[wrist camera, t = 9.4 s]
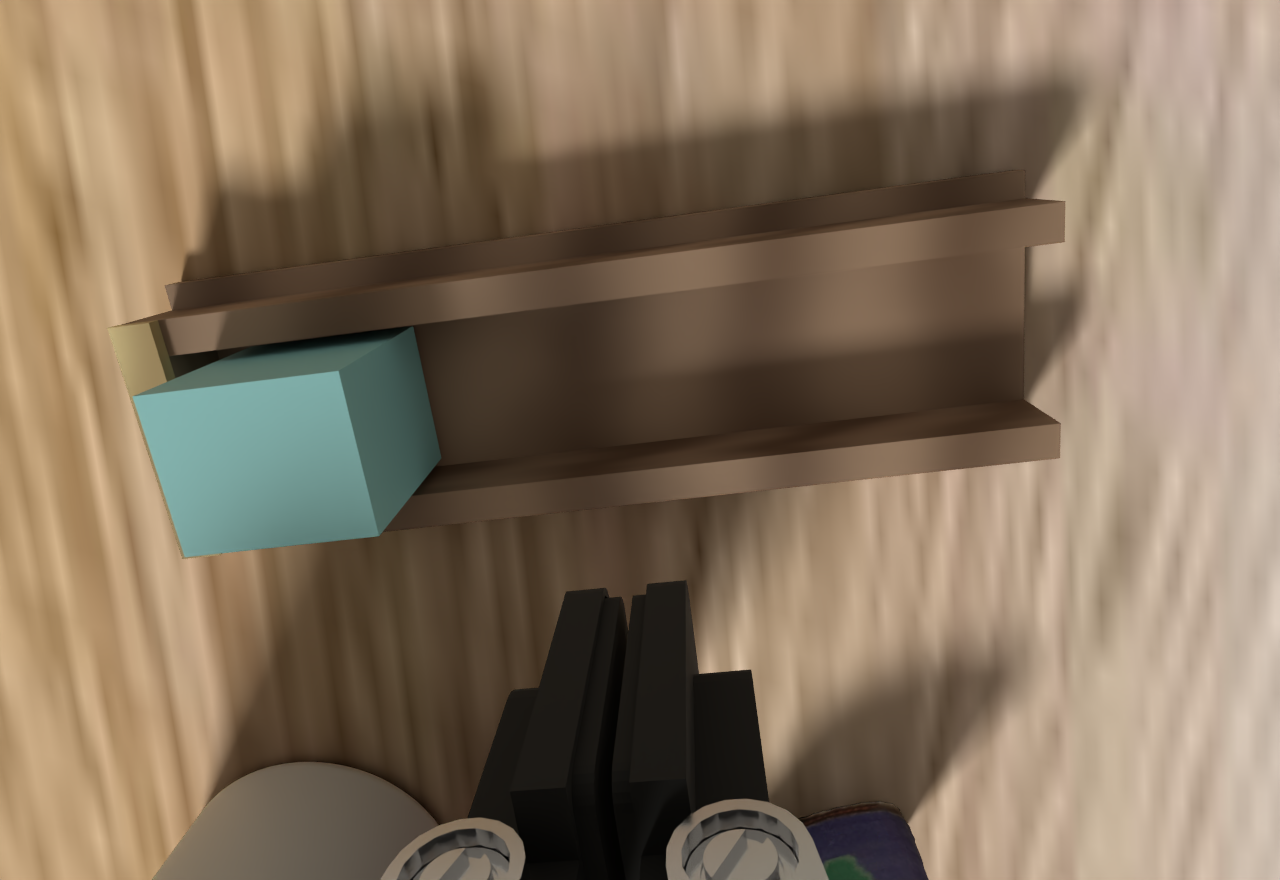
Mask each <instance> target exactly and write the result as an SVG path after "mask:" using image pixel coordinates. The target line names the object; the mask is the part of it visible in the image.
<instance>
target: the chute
mask: <svg viewBox="0 0 1280 880" xmlns="http://www.w3.org/2000/svg"><path fill="white" fill-rule="evenodd" d="M1061 242H1065V201H1054V200H1041V199H1028V198H1025V170H1011V171H1004V172H996V173H989V174H981V175H974V176H966V177H959V178H951V179H944V180H937V181H929V182H922V183H914V184H907V185H899V186H892V187H884V188H877V189H869V190H862V191H855V192H847V193H840V194H832V195H825V196H817V197H810V198H802V199H795V200H787V201H780V202H773V203H765V204H758V205H750V206H743V207H735V208H728V209H720V210H713V211H705V212H698V213H691V214H683V215H676V216H668V217H661V218H653V219H646V220H638V221H631V222H623V223H616V224H609V225H601V226H594V227H586V228H579V229H571V230H564V231H556V232H549V233H541V234H534V235H527V236H519V237H512V238H504V239H497V240H489V241H482V242H474V243H467V244H459V245H452V246H445V247H437V248H430V249H422V250H415V251H407V252H400V253H392V254H385V255H377V256H370V257H363V258H355V259H348V260H340V261H333V262H325V263H318V264H310V265H303V266H295V267H288V268H281V269H273V270H266V271H258V272H251V273H243V274H236V275H228V276H221V277H213V278H206V279H199V280H191V281H184V282H178V283H173V284H169V285H165V288H166V292H167V295H168V298H169V302H170V305H171V308H172V311H169V312H165V313H161V314H158V315H154V316H151V317H147V318H144V319H140V320H137V321H133V322H129V323H126V324H122V325H117V326H114V327H110V328H107V329H108V332H109V335H110V338H111V341H112V344H113V347H114V350H115V354H116V357H117V360H118V363H119V366H120V369H121V372H122V375H123V378H124V381H125V384H126V387H127V390H128V393H129V396H130V399H131V403H132V406H133V409H134V412H135V415H136V418H137V421H138V424H139V427H140V430H141V433H142V436H143V439H144V442H145V445H146V448H147V452H148V455H149V458H150V461H151V464H152V467H153V470H154V473H155V476H156V479H157V482H158V485H159V488H160V491H161V494H162V497H163V501H164V504H165V507H166V510H167V513H168V516H169V519H170V522H171V525H172V528H173V531H174V534H175V537H176V540H177V543H178V546H179V550H180V553H181V556H182V559H187V558H196V557H205V556H215V555H221V554H222V553H219V554H210V555H201V556H192V557H184V554H183V550H182V547H181V544H180V541H179V538H178V535H177V532H176V529H175V526H174V523H173V520H172V517H171V514H170V511H169V507H168V504H167V501H166V498H165V495H164V492H163V489H162V486H161V483H160V480H159V477H158V474H157V471H156V468H155V464H154V461H153V458H152V455H151V452H150V449H149V446H148V443H147V440H146V437H145V434H144V431H143V428H142V424H141V421H140V418H139V415H138V412H137V409H136V406H135V403H134V400H133V397H132V396H135V395H137V394H139V393H142V392H144V391H147V390H149V389H151V388H154V387H156V386H159V385H161V384H163V383H166V382H168V381H170V380H173V379H175V378H178V377H180V376H182V375H185V374H187V373H190V372H192V371H194V370H197V369H199V368H201V367H204V366H206V365H209V364H211V363H213V362H216V361H218V360H221V359H223V358H225V357H228V356H230V355H232V354H235V353H237V352H240V351H242V350H244V349H247V348H249V347H252V346H259V345H267V344H275V343H283V342H291V341H299V340H307V339H314V338H322V337H330V336H338V335H346V334H354V333H362V332H369V331H377V330H385V329H393V328H401V327H409V326H413V328H414V333H415V337H416V342H417V347H418V351H419V356H420V360H421V365H422V370H423V374H424V379H425V384H426V388H427V393H428V398H429V402H430V407H431V412H432V416H433V421H434V426H435V430H436V435H437V440H438V444H439V449H440V453H441V459H440V461H439V462H438V463H437V464H436V466H435V467H434V468H433V469H432V471H431V472H430V473H429V474H428V476H427V477H426V478H425V479H424V481H423V482H422V483H421V484H420V486H419V487H418V488H417V489H416V491H415V492H414V493H413V494H412V496H411V497H410V498H409V499H408V501H407V502H406V503H405V504H404V506H403V507H402V508H401V509H400V511H399V512H398V513H397V514H396V516H395V517H394V518H393V519H392V521H391V522H390V523H389V524H388V526H387V527H386V528H385V529H384V531H383V532H386V531H395V530H404V529H413V528H422V527H432V526H441V525H450V524H459V523H468V522H477V521H487V520H496V519H505V518H514V517H523V516H533V515H542V514H551V513H560V512H569V511H579V510H588V509H597V508H606V507H615V506H624V505H634V504H643V503H652V502H661V501H670V500H680V499H689V498H698V497H707V496H716V495H725V494H735V493H744V492H753V491H762V490H771V489H781V488H790V487H799V486H808V485H817V484H826V483H836V482H845V481H854V480H863V479H872V478H882V477H891V476H900V475H909V474H918V473H927V472H937V471H946V470H955V469H964V468H973V467H983V466H992V465H1001V464H1010V463H1019V462H1028V461H1038V460H1047V459H1056V458H1060V429H1061V423H1059V422H1058V421H1056V420H1055V419H1053V418H1052V417H1050V416H1048V415H1047V414H1045V413H1044V412H1042V411H1041V410H1039V409H1038V408H1036V407H1035V406H1033V405H1032V404H1030V403H1028V402H1027V401H1025V400H1024V281H1025V247H1030V246H1038V245H1046V244H1053V243H1061Z"/></svg>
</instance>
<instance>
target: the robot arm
mask: <svg viewBox="0 0 1280 880" xmlns="http://www.w3.org/2000/svg"><path fill="white" fill-rule="evenodd" d="M380 880H829V879H828V876H827V874H826V871H825V869H824V866H823V864H822V861H821V859H820V856H819V854H818V851H817V849H816V846H815V844H814V841H813V839H812V837H811V835H810V834H809V832H808V831H807V829H806V827H805V826H804V824H803V823H802V822H801V821H800V820H799V819H797V818H796V817H795V816H794V815H792V814H791V813H790V812H789V811H787V810H785V809H783V808H781V807H778V806H776V805H774V804H771V803H769V798H768V791H767V783H766V776H765V768H764V761H763V754H762V746H761V739H760V731H759V724H758V716H757V709H756V701H755V694H754V687H753V679H752V672H751V670H741V671H729V672H717V673H706V674H699V671H698V663H697V655H696V647H695V640H694V632H693V624H692V616H691V608H690V600H689V593H688V586H687V581H686V580H685V581H674V582H664V583H653V584H647V590H646V595H636V596H633V598H632V606H631V615H630V623H629V631H628V627H627V621H626V614H625V608H624V603H623V599H622V597H614V598H609V595H608V591H607V589H606V588H600V589H590V590H579V591H569V592H566V594H565V597H564V601H563V604H562V608H561V611H560V615H559V618H558V622H557V626H556V629H555V633H554V636H553V640H552V643H551V647H550V650H549V654H548V657H547V661H546V665H545V668H544V672H543V675H542V679H541V682H540V686H539V688H529V689H517V690H513V691H512V692H511V693H510V695H509V697H508V699H507V702H506V705H505V708H504V711H503V714H502V717H501V720H500V723H499V726H498V729H497V732H496V735H495V738H494V741H493V744H492V747H491V750H490V753H489V756H488V759H487V762H486V765H485V768H484V771H483V774H482V777H481V780H480V783H479V786H478V789H477V792H476V795H475V798H474V800H473V803H472V806H471V809H470V812H469V815H468V818H467V819H459V820H455V821H452V822H449V823H445V824H442V825H439V826H437V827H435V828H433V829H431V830H429V831H427V832H425V833H424V834H422V835H420V836H418V837H417V838H416V839H414V840H413V841H412V842H411V843H410V844H408V845H407V846H406V847H405V848H403V849H402V850H401V851H400V852H399V854H398V855H397V856H396V857H395V859H394V860H393V861H392V862H391V864H390V865H389V866H388V868H387V869H386V871H385V873H384V874H383V876H382V878H381V879H380Z"/></svg>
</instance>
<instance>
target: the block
mask: <svg viewBox="0 0 1280 880" xmlns="http://www.w3.org/2000/svg"><path fill="white" fill-rule="evenodd" d="M132 397H133V400H134V403H135V406H136V409H137V412H138V415H139V418H140V421H141V424H142V428H143V431H144V434H145V437H146V440H147V443H148V446H149V449H150V452H151V455H152V458H153V461H154V464H155V468H156V471H157V474H158V477H159V480H160V483H161V486H162V489H163V492H164V495H165V498H166V501H167V504H168V507H169V511H170V514H171V517H172V520H173V523H174V526H175V529H176V532H177V535H178V538H179V541H180V544H181V547H182V550H183V554H184V557H192V556H201V555H210V554H219V553H229V552H238V551H247V550H256V549H266V548H275V547H284V546H293V545H302V544H312V543H321V542H330V541H339V540H348V539H358V538H367V537H376V536H380V534H381V533H382V532H383V531H384V529H385V528H386V527H387V526H388V524H389V523H390V522H391V521H392V519H393V518H394V517H395V516H396V514H397V513H398V512H399V511H400V509H401V508H402V507H403V506H404V504H405V503H406V502H407V501H408V499H409V498H410V497H411V496H412V494H413V493H414V492H415V491H416V489H417V488H418V487H419V486H420V484H421V483H422V482H423V481H424V479H425V478H426V477H427V476H428V474H429V473H430V472H431V471H432V469H433V468H434V467H435V466H436V464H437V463H438V462H439V461H440V459H441V453H440V449H439V444H438V440H437V435H436V430H435V426H434V421H433V416H432V412H431V407H430V402H429V398H428V393H427V388H426V384H425V379H424V374H423V370H422V365H421V360H420V356H419V351H418V347H417V342H416V337H415V333H414V328H413V326H409V327H401V328H393V329H385V330H377V331H369V332H362V333H354V334H346V335H338V336H330V337H322V338H314V339H307V340H299V341H291V342H283V343H275V344H267V345H259V346H252V347H249V348H247V349H244V350H242V351H240V352H237V353H235V354H232V355H230V356H228V357H225V358H223V359H221V360H218V361H216V362H213V363H211V364H209V365H206V366H204V367H201V368H199V369H197V370H194V371H192V372H190V373H187V374H185V375H182V376H180V377H178V378H175V379H173V380H170V381H168V382H166V383H163V384H161V385H159V386H156V387H154V388H151V389H149V390H147V391H144V392H142V393H139V394H137V395H135V396H132Z"/></svg>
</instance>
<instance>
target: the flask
mask: <svg viewBox="0 0 1280 880" xmlns="http://www.w3.org/2000/svg"><path fill="white" fill-rule="evenodd" d="M799 820H800V821H801V822H802V823H803V824H804V826H805V827H806V829H807V831H808V832H809V834H810V835H811V837H812V839H813V841H814V844H815V846H816V849H817V851H818V854H819V856H820V859H821V861H822V864H823V866H824V869H825V871H826V874H827V876H828V879H829V880H928V877H927V875H926V872H925V870H924V866H923V862H922V859H921V856H920V854H919V851H918V849H917V846H916V844H915V838H914V836H913V835H912V832H911V829H910V827H909V825H908V824H907V823H906V821H905V820H904V818H903V817H902V814H901V812H900V809H898V808H897V807H896V806H895V805H894V804H892V803H884V802H880V801H878V802H866V803H859V804H854V805H852V806H851V805H850V806H846V807H841V808H839V807H838V808H835V809H834V808H833V810H829V811H822V812H820V813H813V814H812V815H811V816H809V817H806V818H800V819H799Z"/></svg>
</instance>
